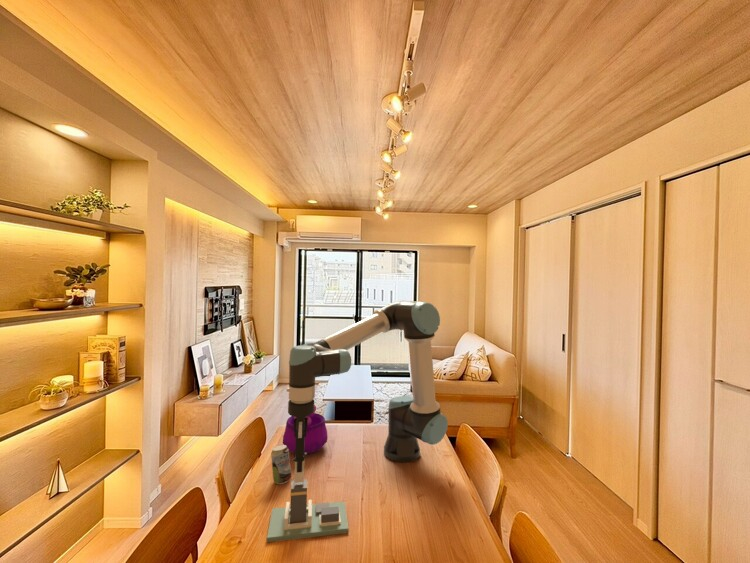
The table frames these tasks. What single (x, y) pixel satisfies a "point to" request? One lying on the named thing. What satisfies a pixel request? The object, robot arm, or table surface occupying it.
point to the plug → (298, 502)
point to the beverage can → (281, 464)
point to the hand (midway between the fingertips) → (299, 480)
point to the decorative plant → (307, 433)
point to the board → (308, 522)
